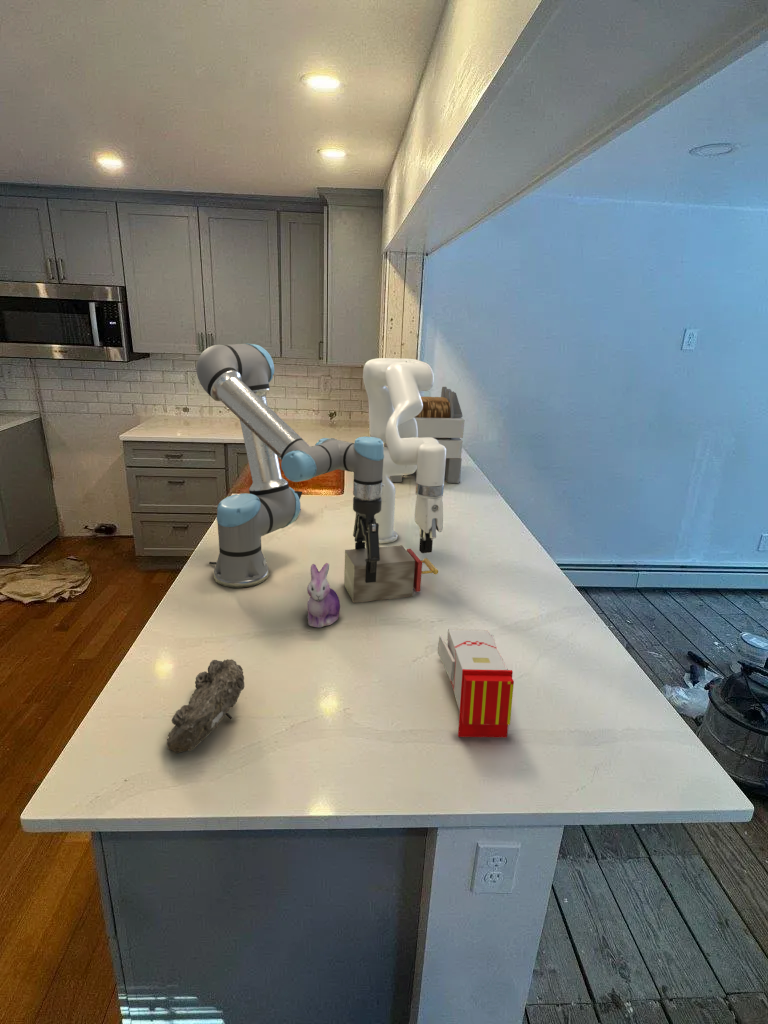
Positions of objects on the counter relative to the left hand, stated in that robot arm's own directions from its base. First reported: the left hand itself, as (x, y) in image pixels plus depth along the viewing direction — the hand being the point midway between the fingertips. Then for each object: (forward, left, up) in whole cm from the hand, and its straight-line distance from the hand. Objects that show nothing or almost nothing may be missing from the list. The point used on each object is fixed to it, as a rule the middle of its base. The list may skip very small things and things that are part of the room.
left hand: (364, 572), depth 156 cm
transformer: (+4, +126, -6) cm, 126 cm away
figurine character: (-38, +54, -6) cm, 66 cm away
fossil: (-19, -56, -6) cm, 60 cm away
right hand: (+16, +7, +5) cm, 18 cm away
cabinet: (+4, +2, -6) cm, 7 cm away
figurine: (-8, -17, -6) cm, 19 cm away
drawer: (+9, +4, -5) cm, 11 cm away
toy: (+29, -38, -6) cm, 49 cm away
